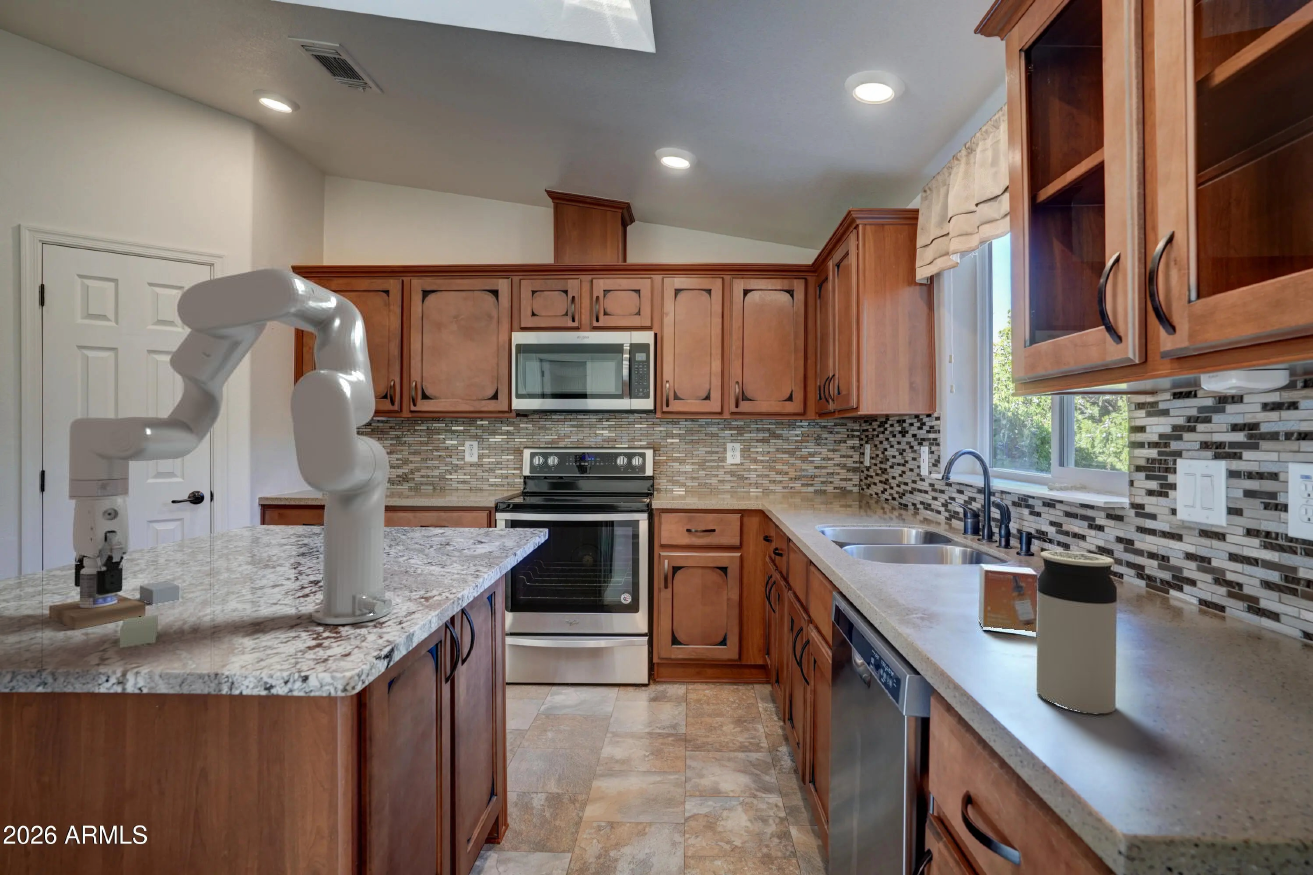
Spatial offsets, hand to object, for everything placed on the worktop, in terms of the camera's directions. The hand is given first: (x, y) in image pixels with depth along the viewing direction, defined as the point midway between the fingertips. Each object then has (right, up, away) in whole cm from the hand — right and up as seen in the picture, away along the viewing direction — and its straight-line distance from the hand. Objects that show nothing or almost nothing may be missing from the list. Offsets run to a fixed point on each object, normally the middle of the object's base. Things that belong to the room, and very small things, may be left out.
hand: (98, 589), depth 101 cm
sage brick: (+17, -5, -11) cm, 21 cm away
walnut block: (0, -5, 0) cm, 5 cm away
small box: (+156, -7, 0) cm, 156 cm away
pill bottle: (0, -3, 0) cm, 3 cm away
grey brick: (+2, -5, +11) cm, 12 cm away
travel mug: (+148, -7, -28) cm, 151 cm away
